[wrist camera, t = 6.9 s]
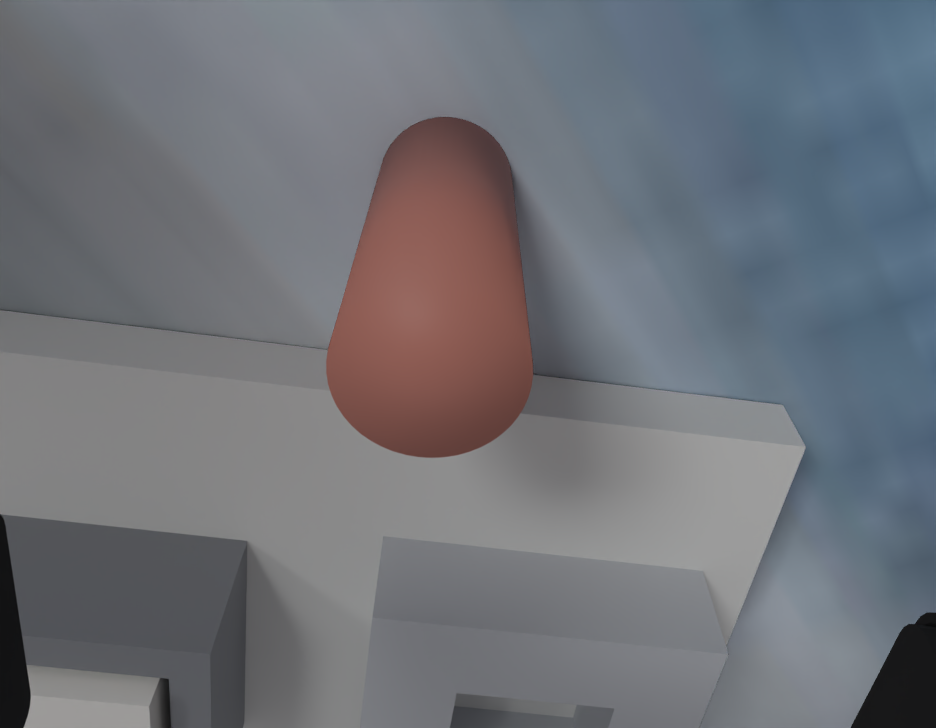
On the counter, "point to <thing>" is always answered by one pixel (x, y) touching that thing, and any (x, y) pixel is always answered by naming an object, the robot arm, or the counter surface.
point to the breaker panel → (373, 539)
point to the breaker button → (96, 700)
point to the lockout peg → (435, 299)
